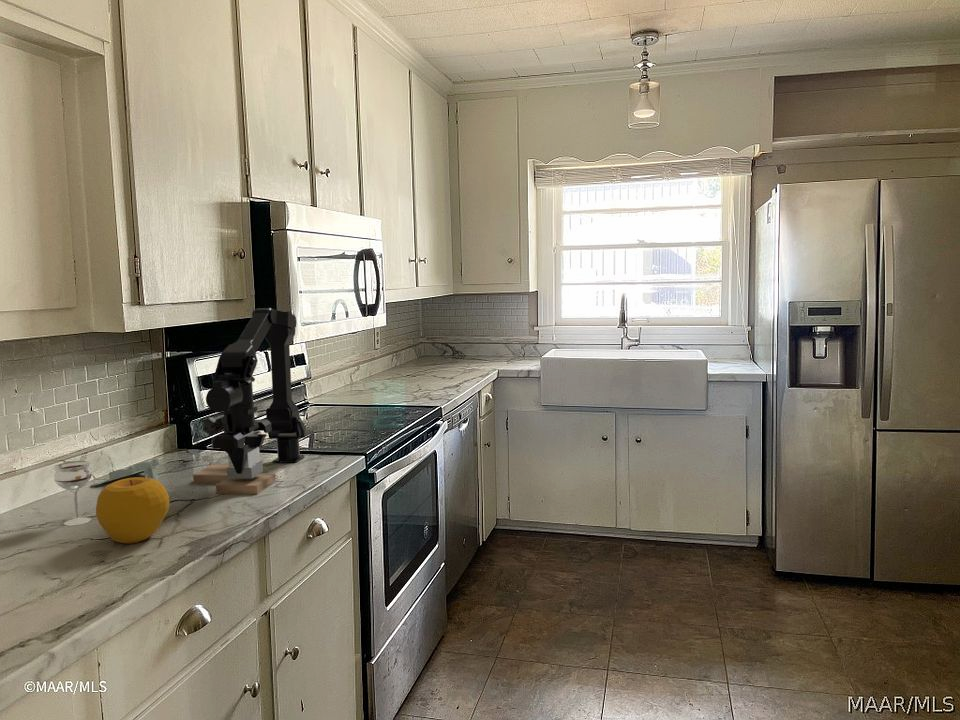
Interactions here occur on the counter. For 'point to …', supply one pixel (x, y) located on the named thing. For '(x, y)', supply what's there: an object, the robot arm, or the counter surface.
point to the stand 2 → (246, 484)
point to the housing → (247, 465)
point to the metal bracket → (136, 471)
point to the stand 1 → (212, 474)
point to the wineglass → (73, 483)
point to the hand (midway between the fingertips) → (245, 469)
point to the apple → (132, 508)
